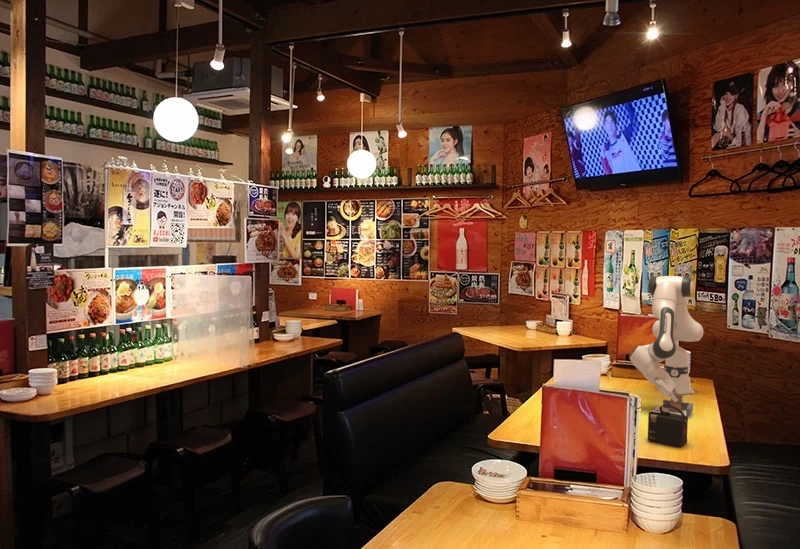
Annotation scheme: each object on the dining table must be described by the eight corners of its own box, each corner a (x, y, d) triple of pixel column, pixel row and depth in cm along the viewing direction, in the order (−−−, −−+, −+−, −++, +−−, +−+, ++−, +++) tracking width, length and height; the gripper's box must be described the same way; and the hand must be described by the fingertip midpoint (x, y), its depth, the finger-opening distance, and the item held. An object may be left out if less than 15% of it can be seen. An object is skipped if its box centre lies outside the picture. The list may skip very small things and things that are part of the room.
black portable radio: (653, 435, 267) (655, 399, 266) (689, 442, 258) (690, 405, 258) (645, 441, 259) (646, 404, 258) (681, 448, 250) (682, 410, 249)
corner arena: (656, 407, 313) (657, 398, 312) (692, 412, 304) (692, 403, 304) (652, 413, 302) (653, 404, 302) (689, 418, 294) (690, 409, 293)
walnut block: (671, 409, 306) (672, 392, 305) (681, 410, 303) (682, 393, 303) (670, 411, 302) (671, 394, 301) (680, 412, 300) (681, 395, 299)
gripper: (658, 375, 296) (680, 399, 292) (665, 368, 314) (685, 390, 309) (648, 384, 299) (669, 407, 294) (655, 376, 316) (675, 398, 312)
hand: (678, 398), depth 302 cm, fingers open, 8 cm apart
